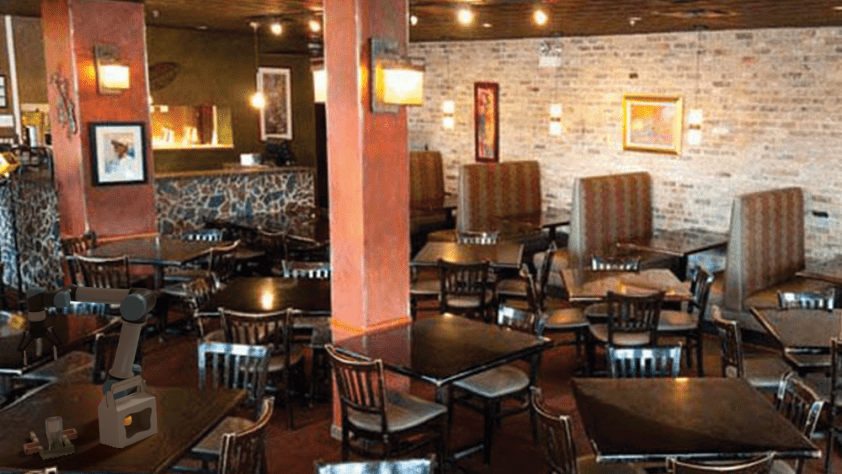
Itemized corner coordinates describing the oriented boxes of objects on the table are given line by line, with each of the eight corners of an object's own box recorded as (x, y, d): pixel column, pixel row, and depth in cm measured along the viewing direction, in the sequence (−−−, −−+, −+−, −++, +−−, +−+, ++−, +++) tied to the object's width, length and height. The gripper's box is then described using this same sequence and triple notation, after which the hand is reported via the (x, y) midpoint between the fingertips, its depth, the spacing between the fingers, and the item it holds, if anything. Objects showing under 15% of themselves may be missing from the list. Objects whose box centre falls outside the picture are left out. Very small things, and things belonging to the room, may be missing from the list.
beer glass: (58, 455, 366) (55, 422, 363) (44, 453, 367) (41, 421, 365) (68, 448, 373) (65, 416, 370) (54, 447, 374) (51, 415, 372)
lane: (30, 437, 386) (29, 429, 385) (60, 430, 393) (59, 423, 392) (42, 460, 360) (42, 452, 360) (74, 453, 368) (74, 445, 367)
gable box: (119, 449, 371) (115, 389, 367) (99, 443, 378) (95, 384, 374) (158, 432, 390) (154, 375, 386) (138, 427, 397) (135, 370, 393)
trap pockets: (20, 444, 377) (20, 439, 377) (74, 433, 390) (74, 428, 390) (26, 455, 366) (25, 449, 365) (81, 443, 378) (81, 437, 378)
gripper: (63, 313, 411) (66, 355, 414) (7, 321, 397) (11, 364, 400) (66, 317, 405) (69, 359, 408) (9, 324, 391) (13, 368, 394)
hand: (40, 362), depth 404 cm, fingers open, 13 cm apart
